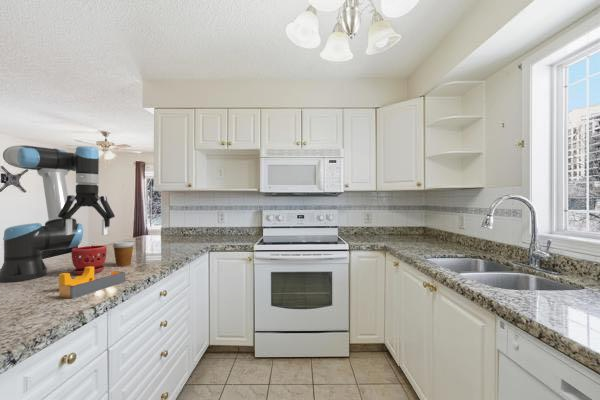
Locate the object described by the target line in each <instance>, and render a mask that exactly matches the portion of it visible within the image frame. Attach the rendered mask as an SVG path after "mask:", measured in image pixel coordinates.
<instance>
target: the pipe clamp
mask: <svg viewBox="0 0 600 400" xmlns="http://www.w3.org/2000/svg"><path fill="white" fill-rule="evenodd" d="M93 280H95V273H94V267H91V266H89V267H85V269H84V273H83V274H79V275H77V276H75V278H72V277H71V273H69V272H62V273H59V274H58V291H59V292H60V285H70V286H75V285H78V284H82V283H86V282H89V281H93Z"/></svg>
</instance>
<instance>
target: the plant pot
mask: <svg viewBox="0 0 600 400" xmlns="http://www.w3.org/2000/svg"><path fill="white" fill-rule="evenodd" d="M106 258H107V245H87V246H80V247H78V246H77V247H73V248H72V249H71V261H72V264H73V266H74V268H75V269H74V270H73V273H75V274H76V275H82V274H83V273H84V269H85V267H89V266H91V267H94V274H96V273H97V274H98V273H100V272H102V271H103V270H104V269H106V266H105V265H104V264H105V262H106V260H107V259H106Z"/></svg>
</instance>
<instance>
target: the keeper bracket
mask: <svg viewBox="0 0 600 400" xmlns="http://www.w3.org/2000/svg"><path fill="white" fill-rule="evenodd" d="M110 272H111V273H110V275H108V276H104V277H100V278H97V279H94V280H93V281H89V282H86V283H82V284H78V285H75V286H70V285H60V291H59V297H61V298H67V299H76V298H79V297H81V296H85V295H88V294H91V293H96V292H98V291H101V290H103V289H104V290H105V289H106V288H110V287H114V286H116V285H119V284H123V283H125V282H126V272H125V271H117V270H111V271H110Z"/></svg>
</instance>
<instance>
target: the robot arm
mask: <svg viewBox="0 0 600 400" xmlns="http://www.w3.org/2000/svg"><path fill="white" fill-rule="evenodd" d="M99 154H100V153H99V149H98V148H96V147H91V146H82V145H81V146H77V147H76V148H75V152H68V151H67V150H64V149H58V148H50V147H43V146H33V145H25V144H24V145H14V146H13V145H12V146H8V147H6V149H5V150H4V151H3V153H2V158H3V161H5V163H7V164H8V165H9V166H11V167H15V168H18V169H19V168H20V169H22V170H23V169H24V170H33V171H37V175H38V176H40V177H41V178H42V183H43V188H44V191H43V192H44V196H45V203H46V211H47V218H48V219H47V221H45V223H44V225H43V224H42V223H40V222H35V223H24V224H19V225H13V226H9V227H7V228H5V230H4V233H3V238H2V240H3V264H2V265H1V268H0V283H12V282H22V281H29V280H33V279H38V278H41V277H43V276H47V274H48V273H47V272H48V268H47V266H46V265H45V263H44V260H43V258H42V253H43V252H46V251H53V250H54V251H55V250H56V251H57V250H64V249H66V250H67V249H71V248H72V249H73V248H78V246H79V245H80V244H81V242H82V240H83V237H84V236H83V234H84V226H83V225H82V223H80V222H79V223H78V222H77V219H76V218H74V217H73V216H74V215H75V213H76V212H77V211H78V210H79V209H80V208H81V207H92V208H93V209H95V210H96V212H97V213H98V214H99V215H100V216H101V217H102V218H103V219H102V220H101V236H105V235H108V228H110V226H111V225H110V223H111V221H110V220H111V219H113V218H115V216H116V215H115V214H114V212H113V210H112V208H111V206H110V204H109V202H108V198H107V196H106V195H101V196H99V185H98V184H99V181H100V180H99V178H100V177H99V168H100V166H99V165H100V161H99V160H100V155H99ZM70 171H72V172H75V183H76V184H75V194H76V195H71V194H70V195H69V193H68V188H67V182H66V176H67V175H68V173H69V172H70ZM75 201H76V202H75ZM98 201H99V202H100V203H99V202H98ZM74 202H75V203H74ZM72 205H73V206H72ZM101 205H102V206H101ZM103 208H104V209H103Z"/></svg>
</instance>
